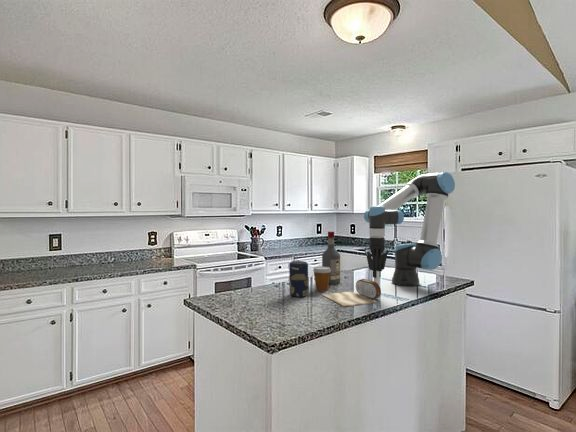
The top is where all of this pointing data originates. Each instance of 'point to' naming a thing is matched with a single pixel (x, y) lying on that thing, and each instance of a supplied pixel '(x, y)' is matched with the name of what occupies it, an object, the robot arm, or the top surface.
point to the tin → (368, 288)
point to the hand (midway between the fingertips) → (376, 283)
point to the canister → (298, 278)
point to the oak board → (348, 299)
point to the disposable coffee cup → (321, 277)
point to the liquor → (332, 260)
